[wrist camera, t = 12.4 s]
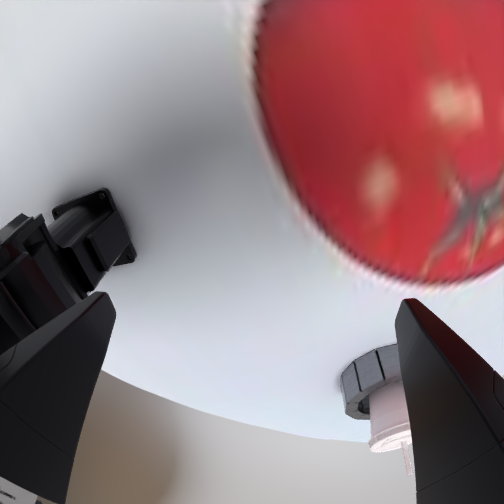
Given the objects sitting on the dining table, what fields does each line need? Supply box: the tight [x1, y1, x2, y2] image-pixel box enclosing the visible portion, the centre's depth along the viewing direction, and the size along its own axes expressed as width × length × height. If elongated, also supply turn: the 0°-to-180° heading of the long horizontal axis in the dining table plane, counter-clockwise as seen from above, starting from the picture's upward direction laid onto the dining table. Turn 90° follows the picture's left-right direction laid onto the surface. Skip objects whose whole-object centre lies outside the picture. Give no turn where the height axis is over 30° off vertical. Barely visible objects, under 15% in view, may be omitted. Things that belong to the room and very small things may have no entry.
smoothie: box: [369, 381, 413, 476], centre depth 24 cm, size 6×6×14 cm
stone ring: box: [341, 344, 402, 420], centre depth 28 cm, size 10×10×4 cm
